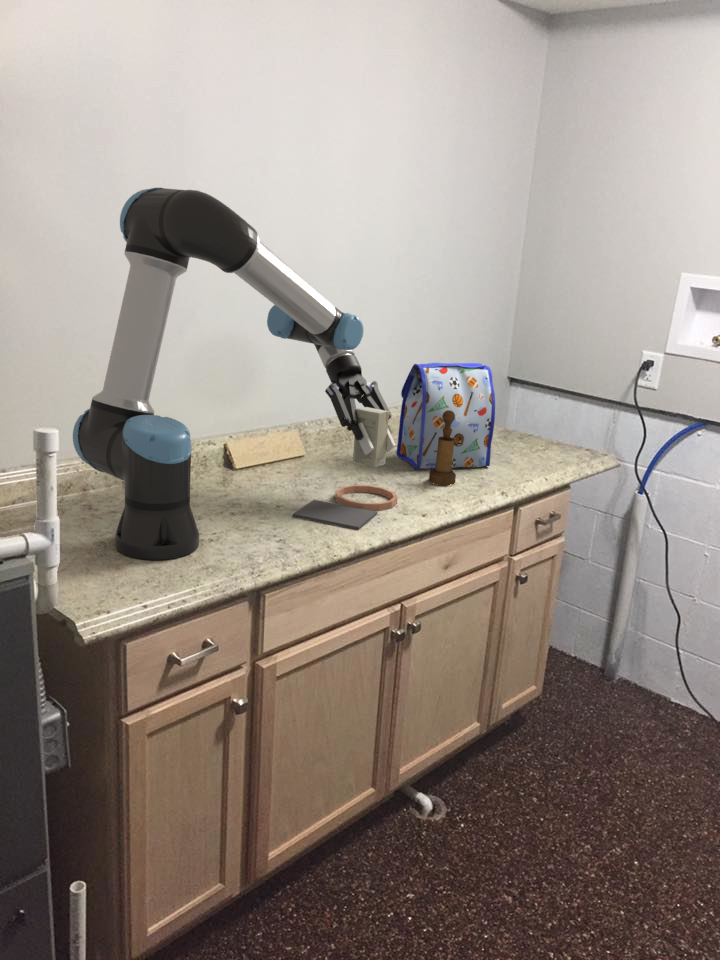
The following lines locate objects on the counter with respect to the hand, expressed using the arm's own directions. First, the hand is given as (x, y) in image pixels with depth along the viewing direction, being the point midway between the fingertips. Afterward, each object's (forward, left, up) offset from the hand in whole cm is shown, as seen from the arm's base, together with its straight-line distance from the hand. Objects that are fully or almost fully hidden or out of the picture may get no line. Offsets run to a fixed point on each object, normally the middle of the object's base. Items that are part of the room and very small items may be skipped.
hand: (380, 449), depth 183 cm
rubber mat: (-11, +5, -13) cm, 18 cm away
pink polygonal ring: (+2, +3, -13) cm, 13 cm away
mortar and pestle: (+26, -8, -13) cm, 30 cm away
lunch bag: (+44, -3, -13) cm, 46 cm away
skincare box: (+2, +3, -4) cm, 6 cm away
